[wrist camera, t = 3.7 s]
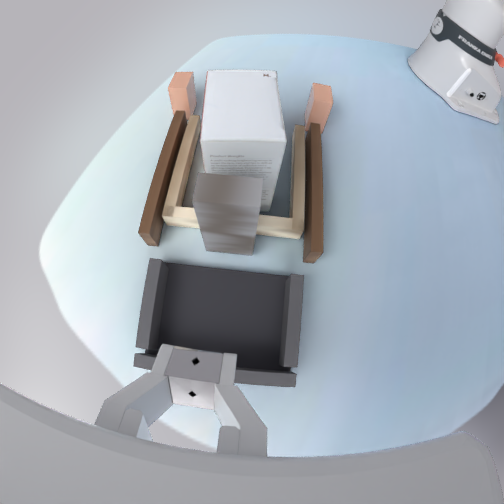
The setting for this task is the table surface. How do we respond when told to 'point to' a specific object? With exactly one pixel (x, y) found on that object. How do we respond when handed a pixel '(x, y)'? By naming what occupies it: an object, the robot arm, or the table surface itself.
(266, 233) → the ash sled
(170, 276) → the dark grey tray
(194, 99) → the posts
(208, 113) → the small box
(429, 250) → the table surface
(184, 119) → the walnut channel
